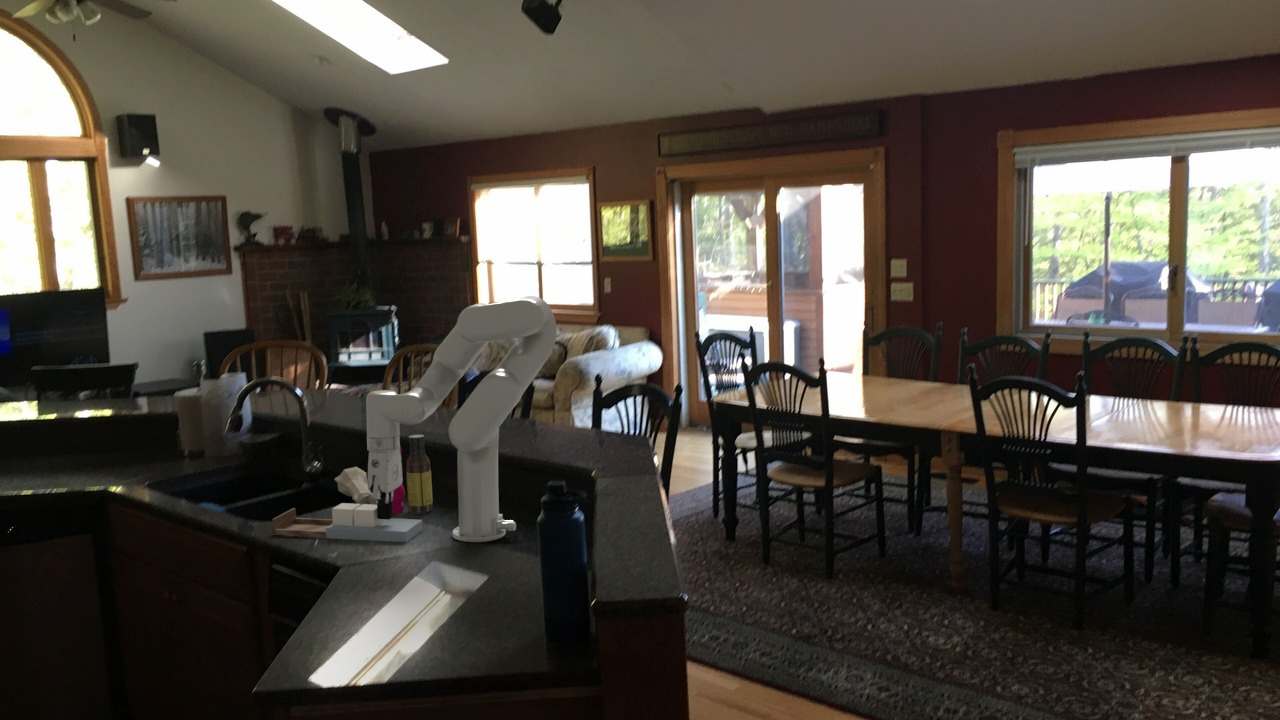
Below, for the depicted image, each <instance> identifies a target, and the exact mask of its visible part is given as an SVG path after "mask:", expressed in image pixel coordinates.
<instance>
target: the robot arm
mask: <svg viewBox="0 0 1280 720" xmlns="http://www.w3.org/2000/svg"><path fill="white" fill-rule="evenodd" d="M557 333H558V332H557V322H556V318H555V316H554V312H553V310H552V309H551V307H550V305H549V304H548V302H546V301H545V300H544V299H543V298H541V297H539V296H536V295H535V296H533V295H530V296H526V297H525V296H524V297H522V298H520V299H513V300H508V301H501V302H494V303H488V304H487V303H475V304H473V305H469V306H468V307H465V308H464V309H463V310H462V311H461V312H460V313H459V315H458V317H457V321H456V324H455V326H454V327H452V330H451V331H450V332H449V333H448V335H447V336H446V337H445V338H444V339H443V341H442V342H441V343H440V344H439V346H437V348H436V350H435V352H434V355H433V359H432V362H431V363H430V366H429V367H428V368H427V370H426V372H425V373H424V375H422V377H421V378H420V379H419V380H418V381H417V383H416V384H415V386H414V387H413V388H412V389H411V390H409V391H407V392H405V393H399V394H398V393H397V392H396V391H393V390H388V389H385V390H384V389H382V390H373V391H371V392H369V393H367V395H366V398H365V399H366V403H365V406H366V407H365V408H366V410H365V411H366V446H367V447H366V448H367V451H368V459H367V460H368V462H367V482H368V489H369V491H370V492H371V493H372V494H373V499H376V503H377V518H378V519H388V520H389V519H391V518H393V516H394V514H393V502H392V501H393V492H394V490H395V489H396V488H398V487H399V486H400V485H401V484H402V485H403V463H402V453H401V454H400V447H401V441H400V439H401V437H400V435H401V432H400V428H401V427H400V426H401V425H400V424H403V425H408V426H409V425H410V426H412V425H413V426H414V425H418V424H421V423H422V422H423V421H425V420H426V419H427V418H428V417H430V416H431V415H432V414H434V412H435V411H436V410H437V409H438V407H439V406H440V405H441V403H442V402H443V401H444V400H445V398H446V397H447V396H448V395H449V394H450V392H451V391H452V390H453V388H454V387H455V386H456V385H457V383H458V382H459V381H460V379H462V377H464V375H465V374H466V373H467V371H468V370H469V368H470V367H471V366H472V364H473V363H474V362H475V361H476V359H477V358H478V357H479V356H480V354H481V353H482V351H483V350H484V349H485V348H486V346H487V345H488V344H489V343H490V342H497V341H504V340H510V339H516V340H515V342H514V343H513V344H512V346H511V347H510V349H509V350H508V352H507V353H506V354H505V356H504V357H503V359H501V361H500V362H499V364H498V365H497V366H496V367H495V368H494V369H493V370H492V371H491V372H489V373H488V374H487V375H485V376H484V378H482V380H481V381H480V382H479V383H477V385H476V387H475V388H474V389H473V391H472V392H471V393H470V395H469V397H467V399H466V400H465V401H464V403H463V404H462V406H461V407H460V408H459V409H458V411H457V412H456V414H455V415H454V417H453V418H452V419H451V421H450V423H449V426H448V437H449V440H450V442H451V444H452V445H453V446H454V447H455V448H456V449H457V454H456V455H457V462H456V464H457V499H458V500H457V503H458V504H457V505H458V507H457V508H458V526H456V527H454V529H453V530H452V535H451V536H452V538H453V539H455V540H456V541H457V540H458V541H459V542H467V543H485V542H486V543H487V542H491V541H495V540H499V539H501V538H503V537H504V536H506V533H507V531H514V532H515V531H516V528H517V522H515V520H511V519H510V520H508V519H506V520H505V519H504V518H503V517H504V516H503V515H504V514H503V513H500V507H499V506H500V503H499V499H500V498H499V438H500V427H501V425H502V424H503V423H504V421H505V420H506V419H507V417H508V416H509V414H510V413H512V410H513V409H514V408H515V407H516V406H517V405H518V403H519V402H520V401H521V399H522V397H523V395H524V393H525V391H526V390H527V389H528V387H529V386H530V385H531V383H532V382H533V381H534V379H535V378H536V376H537V375H538V373H539V372H540V371H541V369H542V367H544V365H545V363H546V362H547V360H548V359H549V357H550V355H551V354H552V352H553V350H554V347H555V344H556V340H557ZM380 489H381V490H380Z"/></svg>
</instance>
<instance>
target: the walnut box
mask: <svg viewBox="0 0 1280 720" xmlns="http://www.w3.org/2000/svg"><path fill="white" fill-rule="evenodd" d="M296 511H297V509H296V508H295V507H293V508H290V509H289V510H287V511H285V512H283V513H281V514H279V515H278V516H276V517H274V518H272V520H271V521H272V525H271V526H272V535H273V534H283V535H288V536H287V537H293V536H298V537H297V538H312V539H313V538H315V539H316V538H318V539H327V538H326V528H327V527H328V526H330V525H331V524H333V519H332V518H330V519H328V518H310V517H309V518H306V517H305V518H304V517H297V512H296Z"/></svg>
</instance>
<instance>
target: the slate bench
mask: <svg viewBox="0 0 1280 720" xmlns="http://www.w3.org/2000/svg"><path fill="white" fill-rule="evenodd" d="M423 530H424V529H423V519H413V518H411V519H410V518H393V517H392V518H391V519H389V520H388V519H383V521H382V522H381V523H379V524H378V525H376V526H375V527H364V526H354V525H353V526H343V525H333V524H331V525H330V526H328V527H327V528H326V538H325V539H335V540H337V539H339V540H357V541H373V542H374V541H379V542H396V543H408V542H409V541H410V540H411V539H412V538H414V537H416V535H418V534H419V533H421V532H422V531H423Z"/></svg>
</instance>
